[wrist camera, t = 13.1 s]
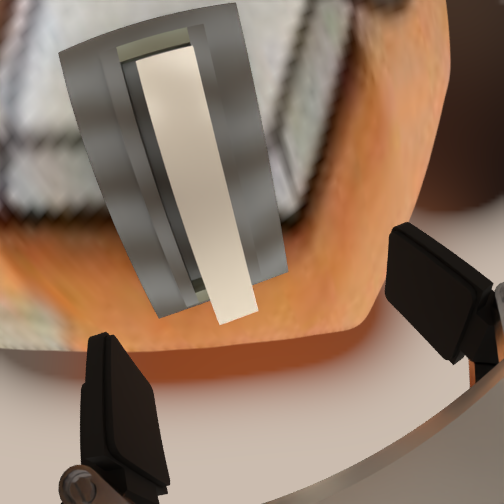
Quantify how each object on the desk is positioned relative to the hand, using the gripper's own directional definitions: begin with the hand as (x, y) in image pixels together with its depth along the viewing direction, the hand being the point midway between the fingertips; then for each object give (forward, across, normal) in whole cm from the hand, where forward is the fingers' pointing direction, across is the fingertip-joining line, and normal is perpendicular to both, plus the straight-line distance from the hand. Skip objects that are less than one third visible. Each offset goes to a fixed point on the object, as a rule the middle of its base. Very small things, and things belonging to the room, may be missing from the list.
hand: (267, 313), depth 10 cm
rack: (+19, 0, 0) cm, 19 cm away
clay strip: (+18, 0, 0) cm, 18 cm away
